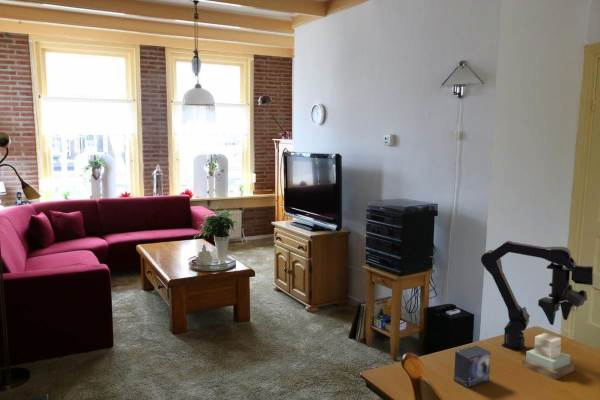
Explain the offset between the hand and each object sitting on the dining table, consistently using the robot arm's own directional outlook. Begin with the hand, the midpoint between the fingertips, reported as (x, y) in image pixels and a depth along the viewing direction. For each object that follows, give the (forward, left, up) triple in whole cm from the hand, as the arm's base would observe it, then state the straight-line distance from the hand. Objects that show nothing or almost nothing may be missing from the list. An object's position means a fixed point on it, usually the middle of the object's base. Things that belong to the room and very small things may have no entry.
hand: (558, 322), depth 178 cm
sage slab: (+4, -13, -11) cm, 17 cm away
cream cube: (+4, -13, -8) cm, 16 cm away
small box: (-5, -43, -13) cm, 45 cm away
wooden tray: (+4, -13, -14) cm, 19 cm away
